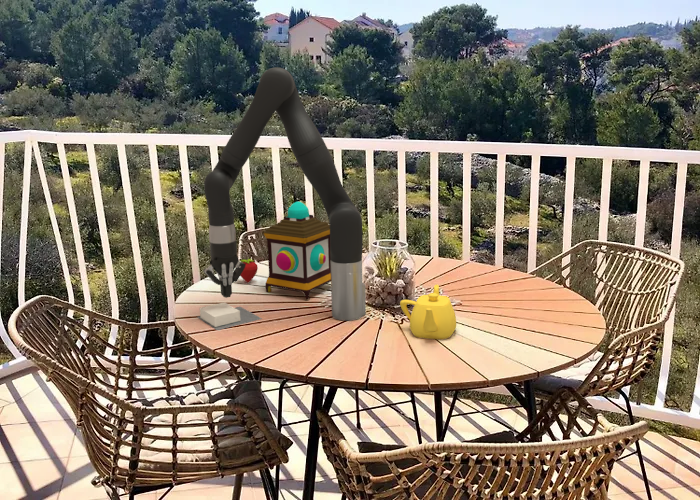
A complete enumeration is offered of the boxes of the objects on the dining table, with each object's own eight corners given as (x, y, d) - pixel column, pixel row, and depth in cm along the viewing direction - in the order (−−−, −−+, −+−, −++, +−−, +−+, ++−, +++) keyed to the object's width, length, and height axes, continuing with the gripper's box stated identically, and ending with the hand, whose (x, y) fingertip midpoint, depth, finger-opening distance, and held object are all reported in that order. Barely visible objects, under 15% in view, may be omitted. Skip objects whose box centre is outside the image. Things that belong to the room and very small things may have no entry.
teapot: (405, 315, 195) (405, 280, 193) (458, 318, 192) (459, 283, 189) (393, 344, 175) (393, 305, 172) (452, 348, 171) (453, 308, 169)
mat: (240, 307, 205) (240, 306, 205) (262, 319, 194) (262, 318, 194) (196, 318, 197) (196, 316, 197) (217, 331, 186) (217, 330, 186)
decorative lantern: (308, 303, 208) (305, 209, 201) (259, 293, 218) (254, 204, 211) (342, 286, 225) (340, 198, 217) (295, 278, 235) (291, 194, 227)
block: (224, 302, 199) (199, 308, 194) (239, 310, 191) (214, 317, 187) (225, 312, 200) (200, 318, 195) (240, 321, 192) (215, 327, 188)
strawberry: (241, 279, 234) (239, 252, 232) (261, 280, 232) (259, 253, 230) (234, 284, 229) (232, 256, 226) (254, 285, 227) (253, 257, 224)
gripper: (207, 245, 183) (211, 304, 187) (249, 238, 190) (253, 295, 194) (195, 240, 188) (200, 298, 193) (237, 233, 196) (241, 289, 200)
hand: (226, 296), depth 194 cm, fingers closed
